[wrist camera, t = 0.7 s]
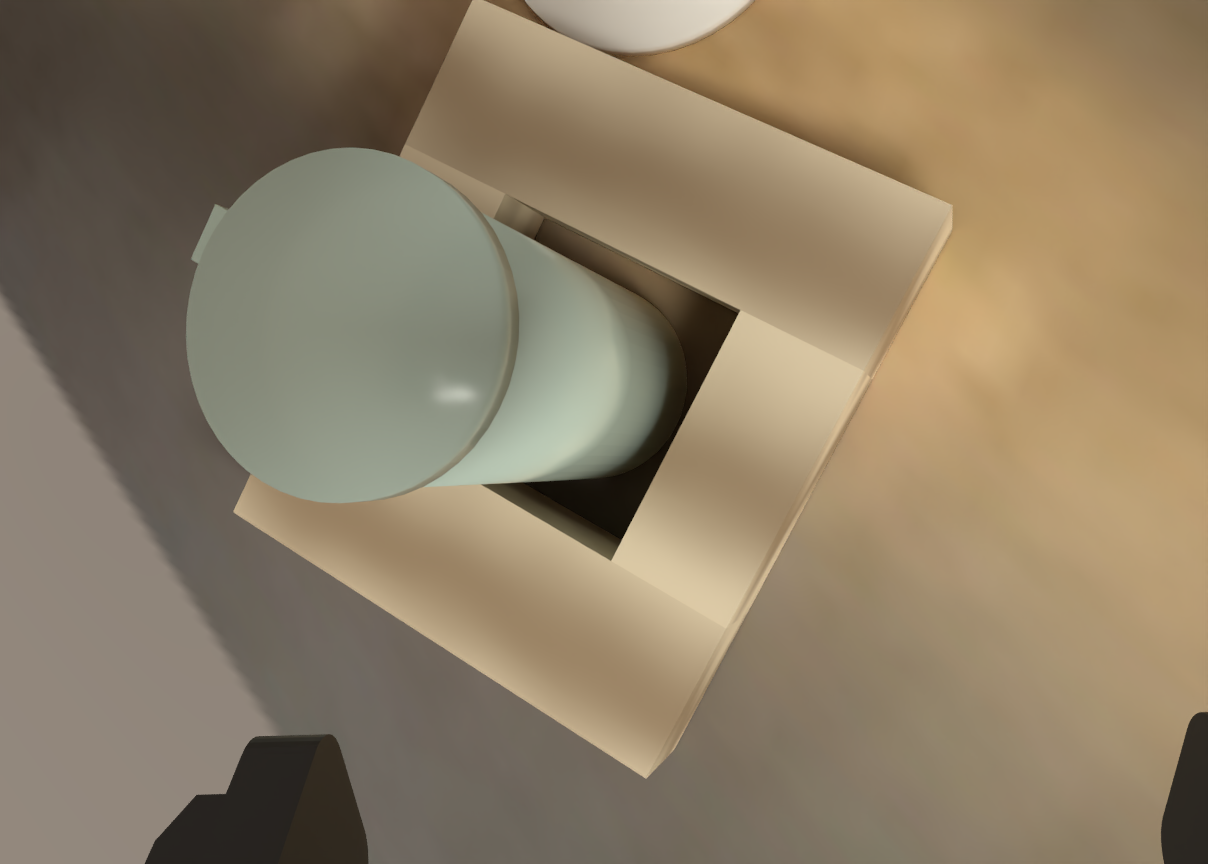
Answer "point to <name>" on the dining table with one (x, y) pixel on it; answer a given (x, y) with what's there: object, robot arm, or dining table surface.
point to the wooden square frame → (715, 419)
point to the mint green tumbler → (414, 340)
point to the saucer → (638, 22)
